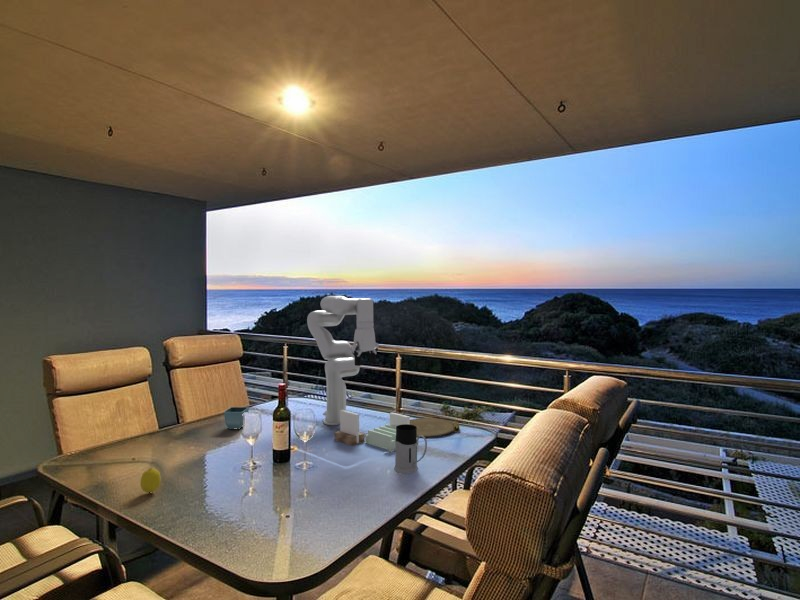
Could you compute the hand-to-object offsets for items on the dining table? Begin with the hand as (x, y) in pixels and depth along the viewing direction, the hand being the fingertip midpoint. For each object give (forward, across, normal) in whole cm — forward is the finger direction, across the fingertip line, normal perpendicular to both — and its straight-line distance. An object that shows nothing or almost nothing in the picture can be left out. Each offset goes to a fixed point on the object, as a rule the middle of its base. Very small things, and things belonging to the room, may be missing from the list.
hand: (365, 364), depth 193 cm
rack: (+32, 0, +14) cm, 35 cm away
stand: (+32, +10, 0) cm, 34 cm away
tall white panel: (+31, +10, 0) cm, 33 cm away
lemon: (+32, +84, -14) cm, 91 cm away
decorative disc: (+33, -27, +15) cm, 45 cm away
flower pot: (+31, +30, -55) cm, 70 cm away
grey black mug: (+33, +18, +39) cm, 54 cm away
